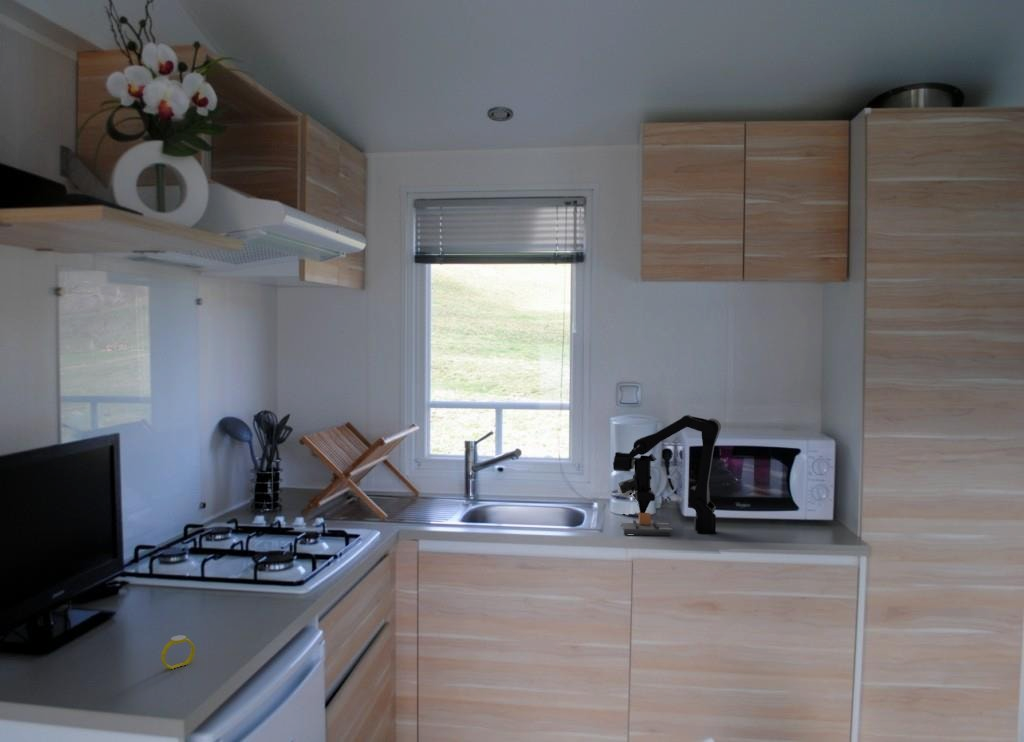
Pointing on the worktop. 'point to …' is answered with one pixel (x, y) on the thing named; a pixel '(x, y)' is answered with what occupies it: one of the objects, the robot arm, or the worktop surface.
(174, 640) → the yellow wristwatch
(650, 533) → the dark grey rod
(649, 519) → the orange block
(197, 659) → the worktop surface
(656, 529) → the panel
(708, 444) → the robot arm
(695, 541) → the worktop surface
